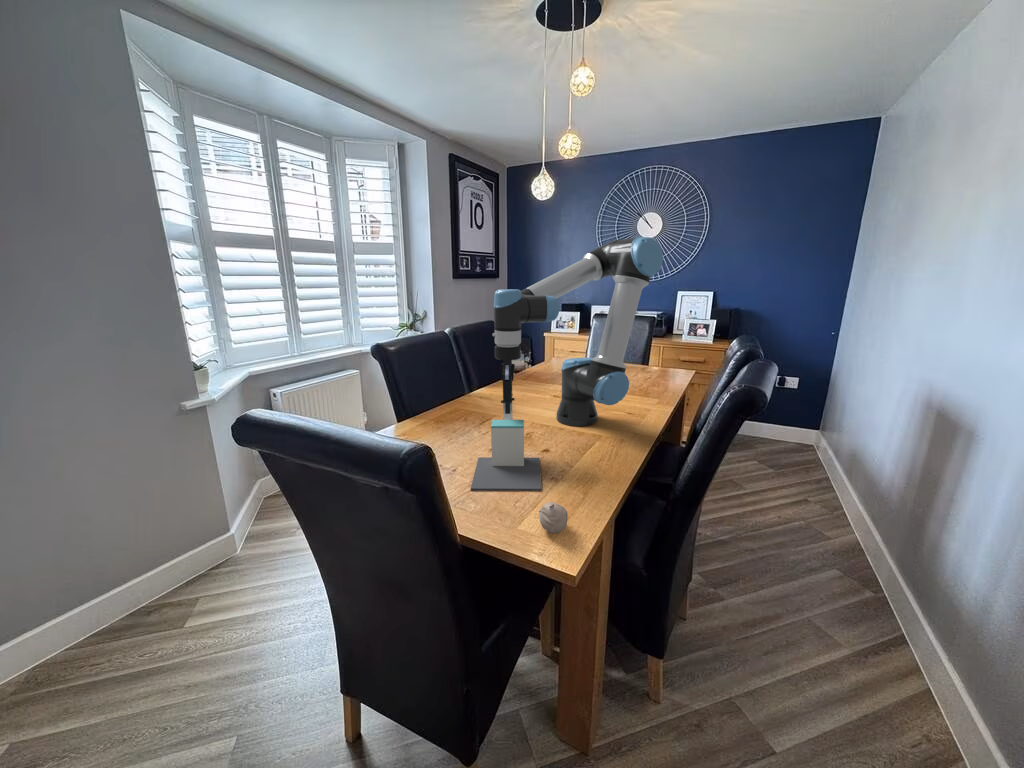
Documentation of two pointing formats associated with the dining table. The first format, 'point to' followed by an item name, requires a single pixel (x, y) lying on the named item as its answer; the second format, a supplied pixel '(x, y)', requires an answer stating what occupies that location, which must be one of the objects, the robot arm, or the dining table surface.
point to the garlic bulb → (553, 517)
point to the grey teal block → (507, 442)
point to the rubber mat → (507, 476)
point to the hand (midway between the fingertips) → (507, 422)
